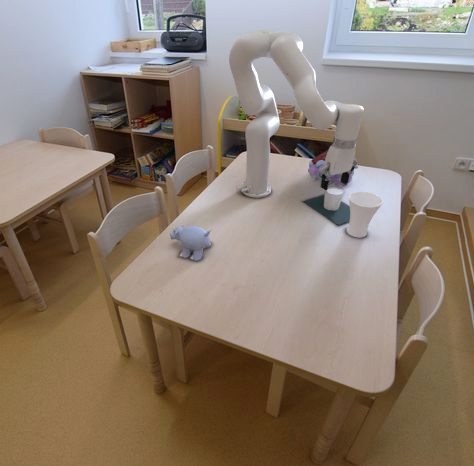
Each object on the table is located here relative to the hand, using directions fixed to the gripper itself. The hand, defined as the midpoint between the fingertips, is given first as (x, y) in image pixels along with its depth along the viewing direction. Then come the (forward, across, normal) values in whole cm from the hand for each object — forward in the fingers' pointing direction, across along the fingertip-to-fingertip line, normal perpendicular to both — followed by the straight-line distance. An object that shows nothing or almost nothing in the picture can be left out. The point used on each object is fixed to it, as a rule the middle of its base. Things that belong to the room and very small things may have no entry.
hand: (333, 185), depth 125 cm
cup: (+9, +3, +18) cm, 21 cm away
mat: (+10, 0, +2) cm, 10 cm away
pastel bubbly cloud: (+10, -17, -19) cm, 28 cm away
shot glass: (+9, 0, +1) cm, 9 cm away
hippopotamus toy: (+11, +59, 0) cm, 60 cm away
